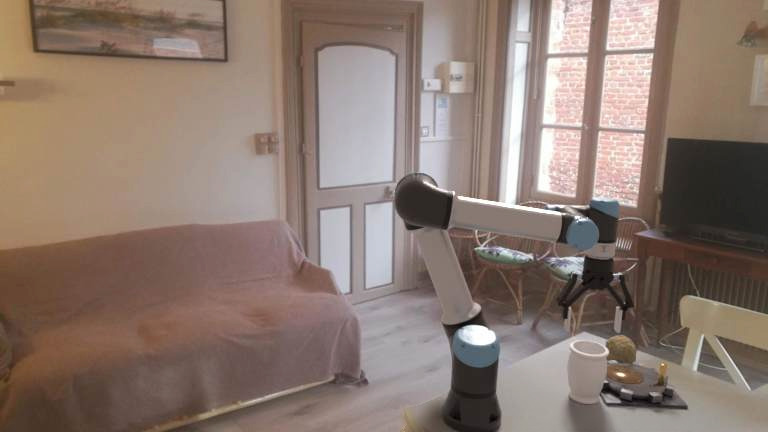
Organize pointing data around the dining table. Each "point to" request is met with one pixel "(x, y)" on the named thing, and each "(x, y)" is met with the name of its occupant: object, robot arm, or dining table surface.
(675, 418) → the dining table surface
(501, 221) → the robot arm
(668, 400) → the base plate
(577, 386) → the jar
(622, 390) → the sprocket
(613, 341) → the decorative object
